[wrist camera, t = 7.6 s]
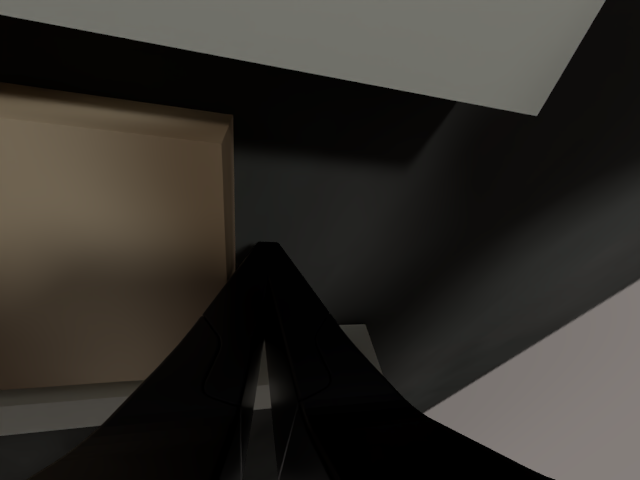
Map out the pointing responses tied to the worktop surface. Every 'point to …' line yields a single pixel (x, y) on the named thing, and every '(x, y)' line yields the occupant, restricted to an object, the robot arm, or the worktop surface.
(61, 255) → the tan wooden block
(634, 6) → the worktop surface
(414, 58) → the canopy channel
